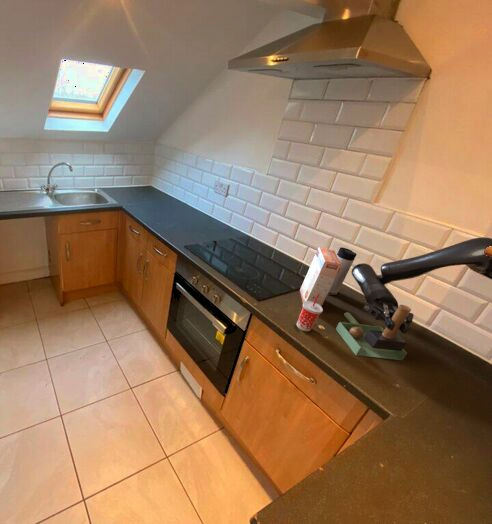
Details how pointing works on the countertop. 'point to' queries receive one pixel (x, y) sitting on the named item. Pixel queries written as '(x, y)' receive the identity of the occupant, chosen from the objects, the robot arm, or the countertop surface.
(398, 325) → the brush
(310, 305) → the beverage cup
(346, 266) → the travel mug
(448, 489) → the countertop surface
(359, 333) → the cork ball
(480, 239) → the robot arm
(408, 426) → the countertop surface
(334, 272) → the cracker box
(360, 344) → the dustpan
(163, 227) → the countertop surface
